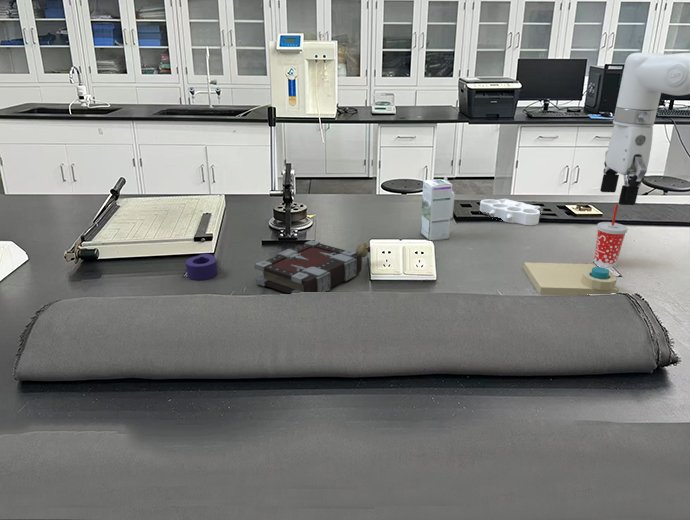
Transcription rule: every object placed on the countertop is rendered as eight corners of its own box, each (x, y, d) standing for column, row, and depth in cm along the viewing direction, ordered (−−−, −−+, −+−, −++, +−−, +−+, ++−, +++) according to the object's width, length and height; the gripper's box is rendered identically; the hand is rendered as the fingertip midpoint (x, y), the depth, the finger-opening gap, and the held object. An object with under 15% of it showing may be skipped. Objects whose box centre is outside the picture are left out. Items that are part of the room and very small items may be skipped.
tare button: (604, 274, 108) (605, 266, 107) (610, 280, 105) (612, 273, 104) (588, 273, 108) (589, 266, 107) (594, 280, 105) (595, 272, 104)
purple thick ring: (216, 279, 112) (215, 265, 111) (185, 281, 111) (183, 267, 110) (220, 258, 123) (218, 245, 122) (192, 259, 122) (190, 246, 121)
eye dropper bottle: (448, 221, 149) (452, 179, 144) (430, 218, 152) (433, 177, 147) (454, 217, 152) (458, 176, 148) (436, 214, 155) (439, 174, 151)
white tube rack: (552, 218, 153) (526, 229, 143) (497, 205, 165) (470, 214, 155) (554, 206, 151) (528, 217, 142) (498, 194, 163) (471, 203, 154)
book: (255, 284, 109) (253, 261, 108) (329, 250, 128) (329, 230, 126) (309, 304, 101) (308, 280, 99) (380, 264, 120) (381, 243, 118)
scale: (592, 271, 117) (595, 256, 116) (618, 298, 104) (621, 282, 103) (523, 269, 118) (525, 254, 116) (540, 296, 105) (543, 280, 104)
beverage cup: (587, 257, 124) (598, 199, 119) (615, 259, 123) (628, 201, 118) (593, 267, 119) (605, 207, 113) (622, 270, 118) (636, 209, 112)
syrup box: (449, 239, 136) (454, 183, 130) (428, 241, 134) (432, 185, 129) (439, 232, 141) (443, 178, 135) (419, 234, 139) (422, 179, 134)
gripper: (675, 124, 101) (653, 210, 107) (634, 112, 117) (617, 188, 123) (634, 123, 101) (615, 209, 108) (599, 111, 117) (584, 187, 123)
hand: (616, 198), depth 115 cm, fingers open, 9 cm apart
